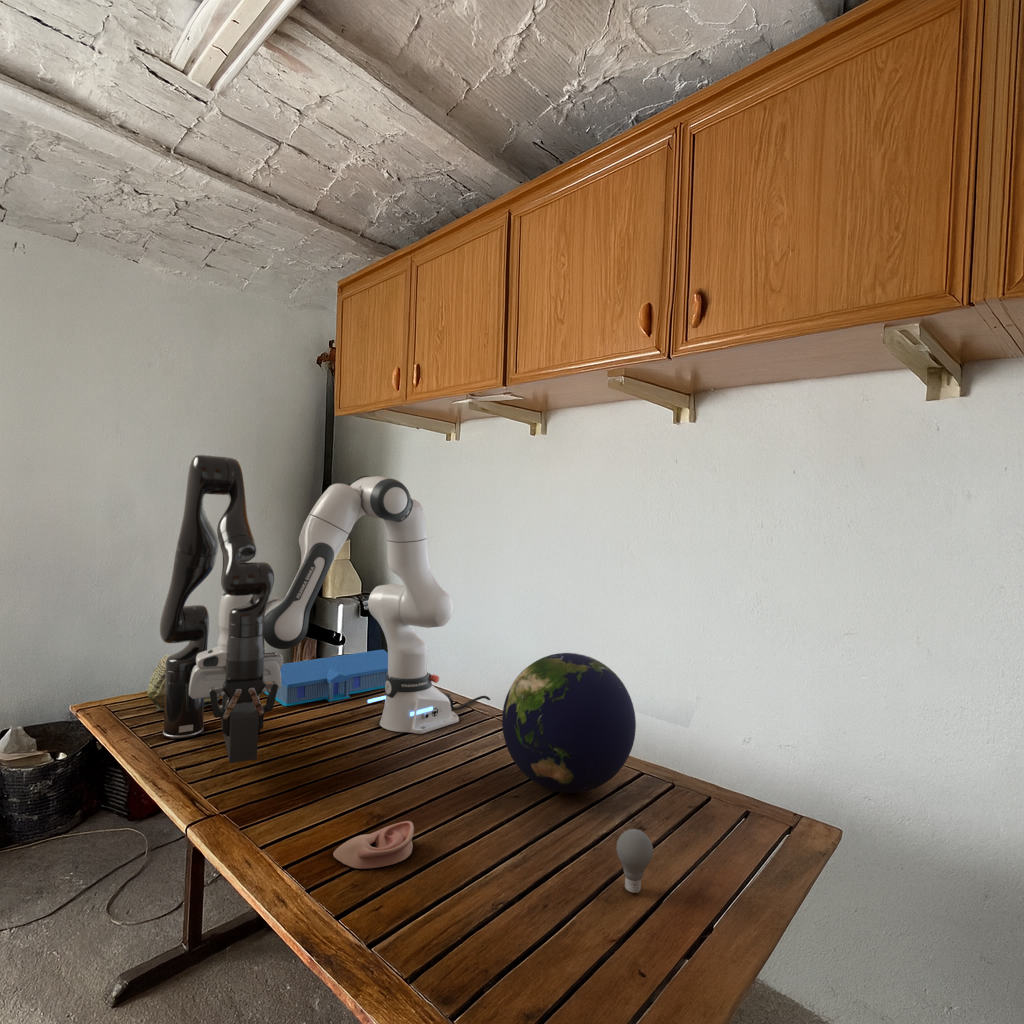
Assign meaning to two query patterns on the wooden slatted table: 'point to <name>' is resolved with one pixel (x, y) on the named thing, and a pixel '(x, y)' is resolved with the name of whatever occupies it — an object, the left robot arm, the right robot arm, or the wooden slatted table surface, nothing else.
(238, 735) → the bar
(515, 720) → the globe
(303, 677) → the model building
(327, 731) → the wooden slatted table surface
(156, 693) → the fossil
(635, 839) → the light bulb
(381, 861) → the anatomical model
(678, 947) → the wooden slatted table surface
